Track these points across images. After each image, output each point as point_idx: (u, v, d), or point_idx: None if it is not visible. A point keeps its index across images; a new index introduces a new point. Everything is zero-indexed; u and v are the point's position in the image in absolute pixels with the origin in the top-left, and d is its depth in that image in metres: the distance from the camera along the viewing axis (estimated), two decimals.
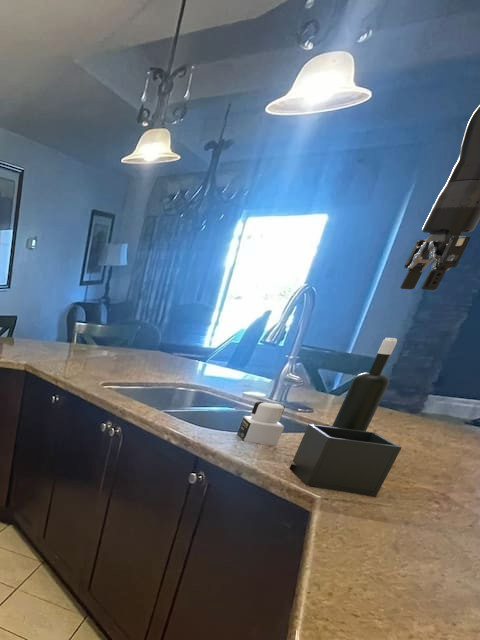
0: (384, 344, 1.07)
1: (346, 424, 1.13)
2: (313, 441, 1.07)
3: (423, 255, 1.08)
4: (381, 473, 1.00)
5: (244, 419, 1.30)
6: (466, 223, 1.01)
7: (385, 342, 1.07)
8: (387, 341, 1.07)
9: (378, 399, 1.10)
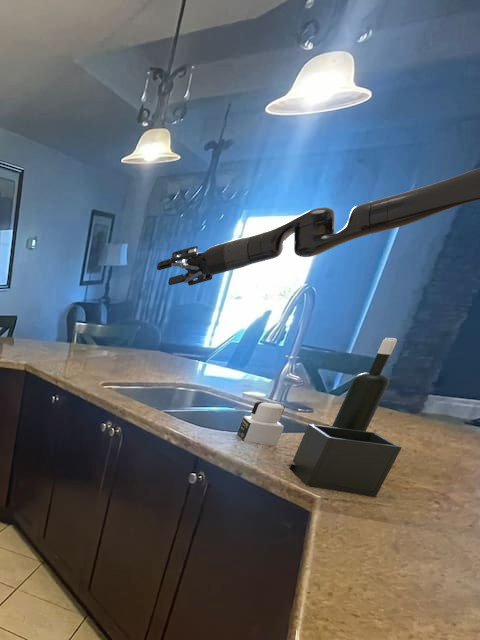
0: (384, 344, 1.07)
1: (346, 423, 1.13)
2: (313, 441, 1.07)
3: None
4: (381, 473, 1.00)
5: (244, 419, 1.30)
6: (210, 255, 1.32)
7: (385, 342, 1.07)
8: (387, 341, 1.07)
9: (378, 399, 1.10)
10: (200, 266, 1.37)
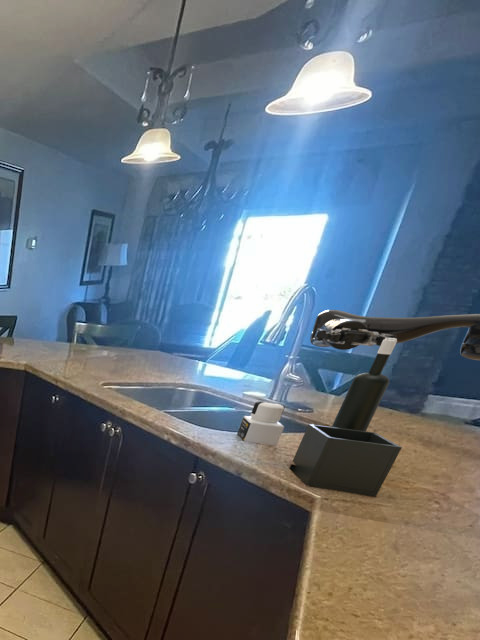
0: (384, 344, 1.07)
1: (346, 423, 1.13)
2: (313, 441, 1.07)
3: (358, 342, 1.25)
4: (381, 473, 1.00)
5: (244, 419, 1.30)
6: (330, 330, 1.31)
7: (385, 342, 1.07)
8: (387, 341, 1.07)
9: (378, 399, 1.10)
10: (350, 331, 1.27)
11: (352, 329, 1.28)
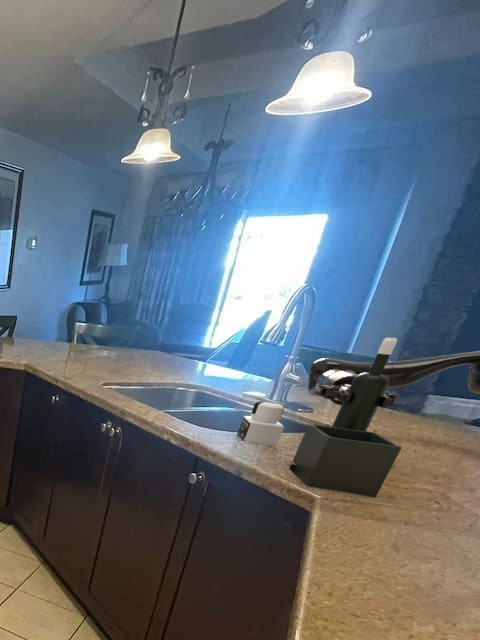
0: (384, 344, 1.07)
1: (346, 423, 1.13)
2: (313, 441, 1.07)
3: None
4: (381, 473, 1.00)
5: (244, 419, 1.30)
6: (330, 384, 1.22)
7: (385, 342, 1.07)
8: (387, 341, 1.07)
9: (378, 399, 1.10)
10: None
11: None
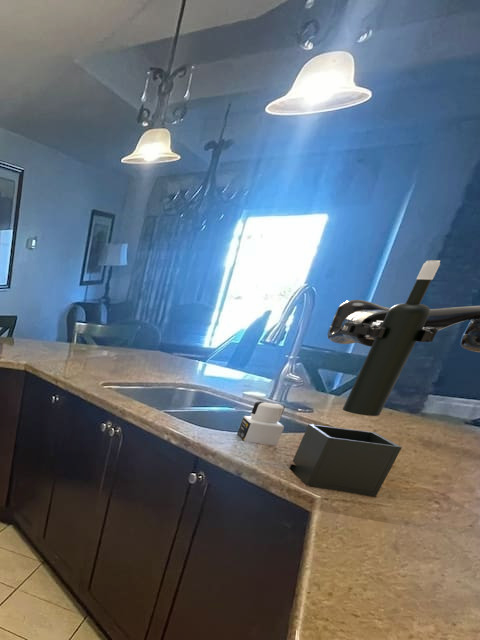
0: (424, 267, 0.94)
1: (379, 363, 1.00)
2: (313, 441, 1.07)
3: None
4: (381, 473, 1.00)
5: (244, 419, 1.30)
6: (358, 323, 1.09)
7: (426, 265, 0.94)
8: (428, 264, 0.93)
9: (417, 332, 0.96)
10: None
11: None
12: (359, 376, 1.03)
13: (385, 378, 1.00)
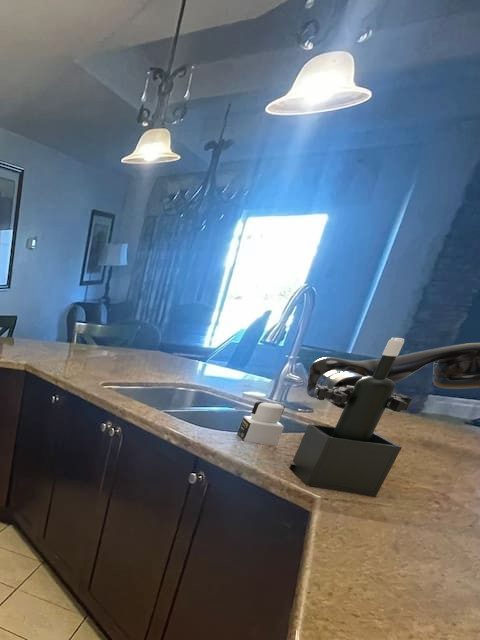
0: (389, 344, 0.97)
1: (347, 432, 1.03)
2: (313, 441, 1.07)
3: None
4: (381, 473, 1.00)
5: (244, 419, 1.30)
6: (331, 385, 1.11)
7: (391, 342, 0.96)
8: (393, 341, 0.96)
9: (383, 406, 0.99)
10: None
11: None
12: None
13: None
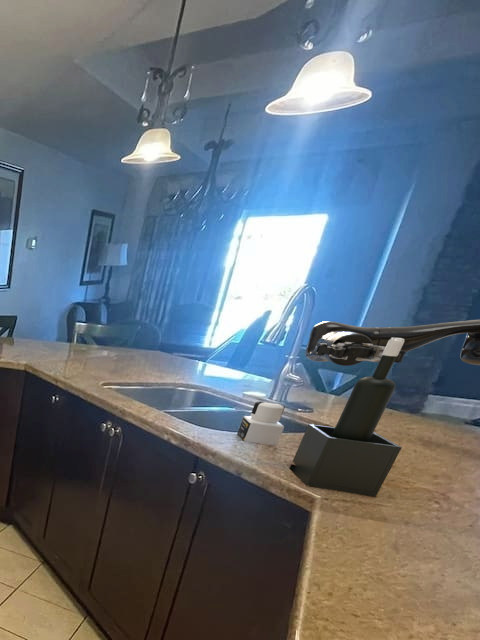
0: (389, 344, 0.97)
1: (347, 432, 1.03)
2: (313, 441, 1.07)
3: (363, 357, 1.12)
4: (381, 473, 1.00)
5: (244, 419, 1.30)
6: (330, 343, 1.18)
7: (391, 342, 0.96)
8: (393, 341, 0.96)
9: (383, 406, 0.99)
10: (353, 345, 1.14)
11: (355, 343, 1.15)
12: None
13: None
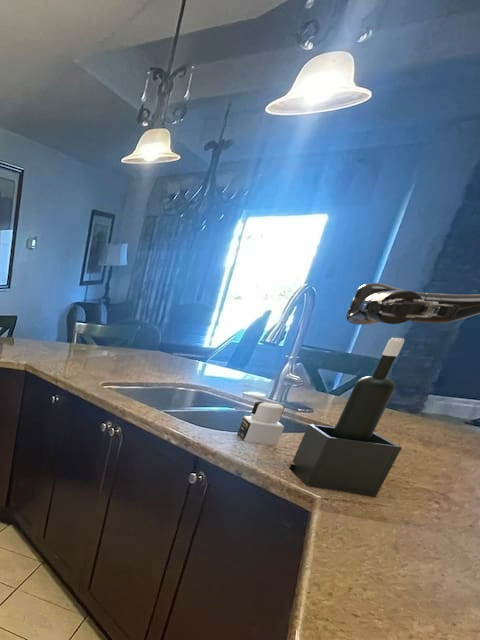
0: (389, 344, 0.97)
1: (347, 432, 1.03)
2: (313, 441, 1.07)
3: (414, 314, 1.11)
4: (381, 473, 1.00)
5: (244, 419, 1.30)
6: (378, 302, 1.17)
7: (391, 342, 0.96)
8: (393, 341, 0.96)
9: (383, 406, 0.99)
10: (403, 302, 1.13)
11: (405, 300, 1.14)
12: None
13: None
